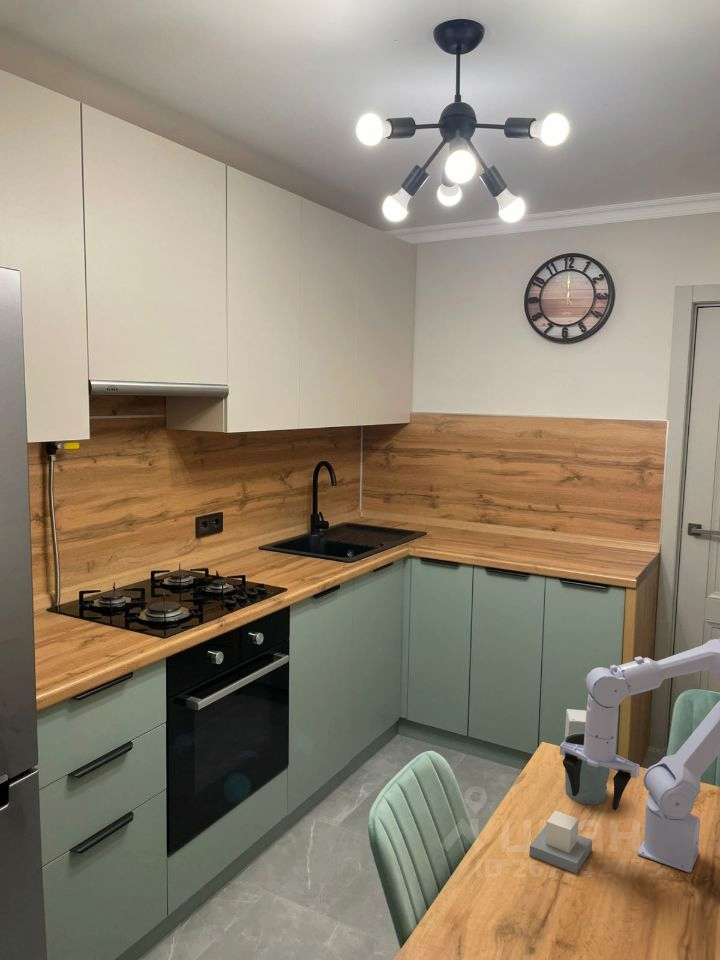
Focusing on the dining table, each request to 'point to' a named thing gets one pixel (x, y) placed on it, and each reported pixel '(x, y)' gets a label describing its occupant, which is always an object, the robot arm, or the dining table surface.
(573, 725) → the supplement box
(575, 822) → the cream colored cube
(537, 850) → the stud block
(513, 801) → the dining table surface
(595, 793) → the teal cup
